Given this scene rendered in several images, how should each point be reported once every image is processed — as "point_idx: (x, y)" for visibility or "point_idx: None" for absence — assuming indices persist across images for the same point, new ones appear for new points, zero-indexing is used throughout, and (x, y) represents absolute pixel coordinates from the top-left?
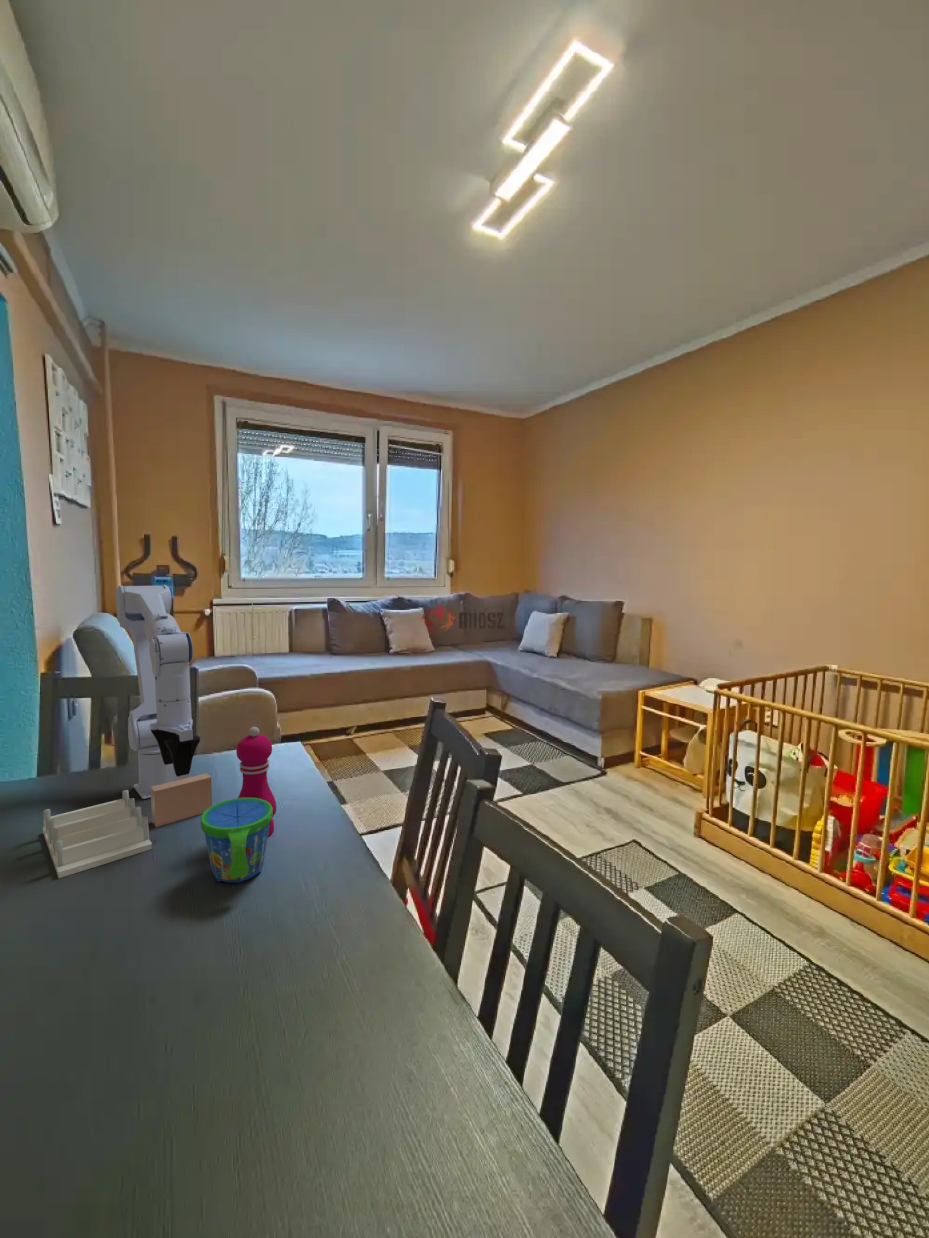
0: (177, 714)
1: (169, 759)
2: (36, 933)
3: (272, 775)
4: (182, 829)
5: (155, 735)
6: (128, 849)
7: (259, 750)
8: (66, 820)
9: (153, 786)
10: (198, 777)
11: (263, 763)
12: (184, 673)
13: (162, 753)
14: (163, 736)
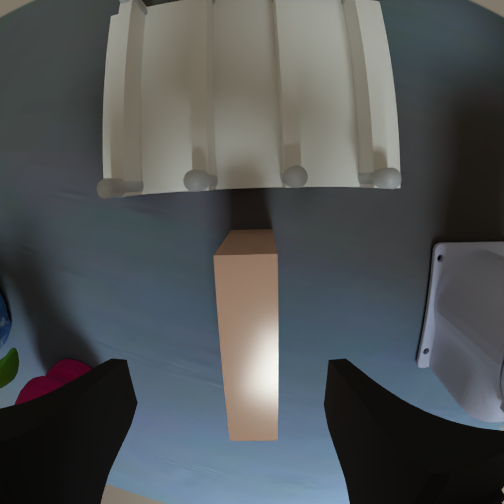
0: None
1: (331, 393)
2: (5, 33)
3: (334, 490)
4: (172, 284)
5: (414, 464)
6: (107, 142)
7: None
8: (353, 24)
9: (275, 265)
10: (255, 415)
11: None
12: None
13: (351, 391)
14: (385, 488)
